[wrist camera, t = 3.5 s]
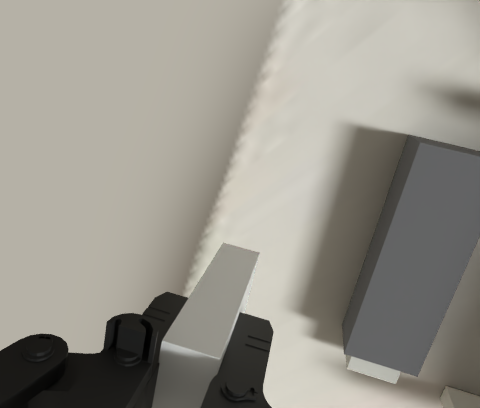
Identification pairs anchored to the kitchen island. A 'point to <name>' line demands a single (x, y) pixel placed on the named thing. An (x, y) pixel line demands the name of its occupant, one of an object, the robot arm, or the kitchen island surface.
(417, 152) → the dark grey block
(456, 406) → the white u-shaped bracket
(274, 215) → the kitchen island surface
